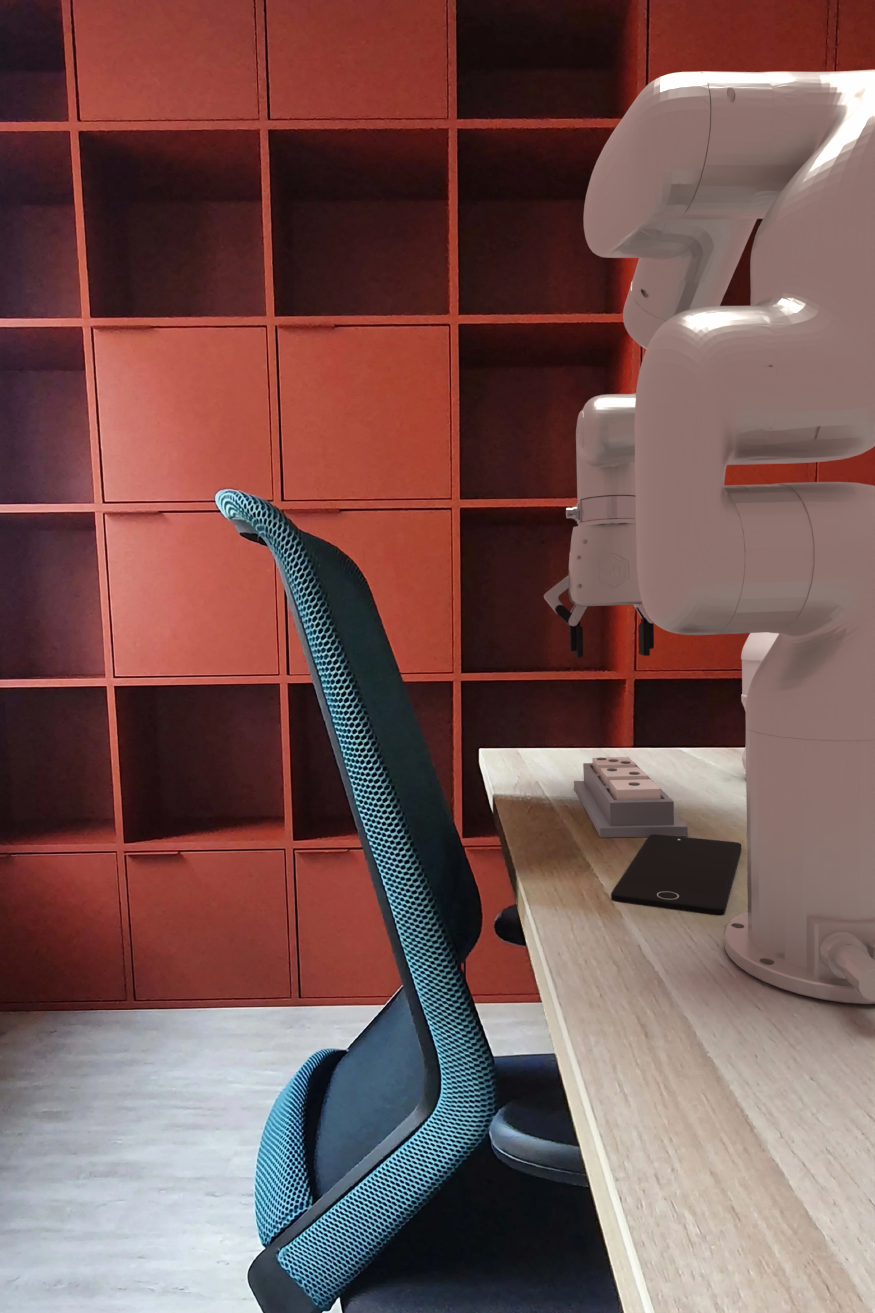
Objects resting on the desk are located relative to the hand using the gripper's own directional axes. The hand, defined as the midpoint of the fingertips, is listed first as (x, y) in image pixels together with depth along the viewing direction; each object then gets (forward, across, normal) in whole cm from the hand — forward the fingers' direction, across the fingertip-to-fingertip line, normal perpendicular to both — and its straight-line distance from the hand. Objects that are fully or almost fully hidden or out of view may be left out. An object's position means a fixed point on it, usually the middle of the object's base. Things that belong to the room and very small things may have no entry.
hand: (611, 655), depth 96 cm
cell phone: (+19, +1, -28) cm, 34 cm away
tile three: (+15, 0, 0) cm, 15 cm away
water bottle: (+18, +22, +6) cm, 29 cm away
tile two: (+15, 0, -7) cm, 17 cm away
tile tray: (+18, 0, -6) cm, 19 cm away
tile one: (+15, 0, -13) cm, 20 cm away
